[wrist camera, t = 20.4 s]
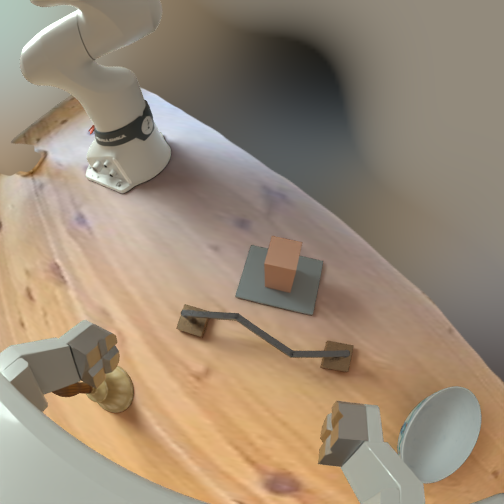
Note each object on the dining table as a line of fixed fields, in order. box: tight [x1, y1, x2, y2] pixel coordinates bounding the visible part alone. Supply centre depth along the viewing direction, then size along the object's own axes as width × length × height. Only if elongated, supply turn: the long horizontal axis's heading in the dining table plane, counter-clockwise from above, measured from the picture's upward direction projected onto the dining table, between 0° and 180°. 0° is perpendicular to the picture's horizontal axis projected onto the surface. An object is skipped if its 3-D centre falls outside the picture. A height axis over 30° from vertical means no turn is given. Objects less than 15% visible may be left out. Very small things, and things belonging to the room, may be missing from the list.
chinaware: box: [397, 386, 481, 483], centre depth 27 cm, size 15×15×8 cm
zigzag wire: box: [176, 304, 353, 372], centre depth 36 cm, size 26×4×6 cm, turn 74°
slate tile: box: [235, 245, 323, 315], centre depth 43 cm, size 12×9×1 cm
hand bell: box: [52, 366, 134, 413], centre depth 29 cm, size 8×8×16 cm
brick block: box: [264, 236, 302, 293], centre depth 39 cm, size 4×4×9 cm
